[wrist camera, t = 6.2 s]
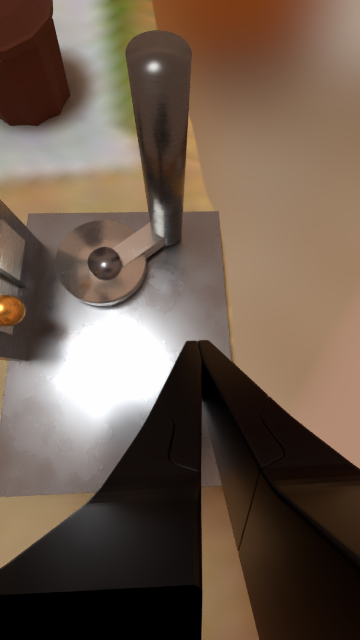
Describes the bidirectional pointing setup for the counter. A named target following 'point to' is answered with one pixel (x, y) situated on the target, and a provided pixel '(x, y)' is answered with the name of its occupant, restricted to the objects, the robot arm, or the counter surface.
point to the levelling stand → (96, 350)
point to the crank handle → (158, 171)
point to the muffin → (30, 63)
